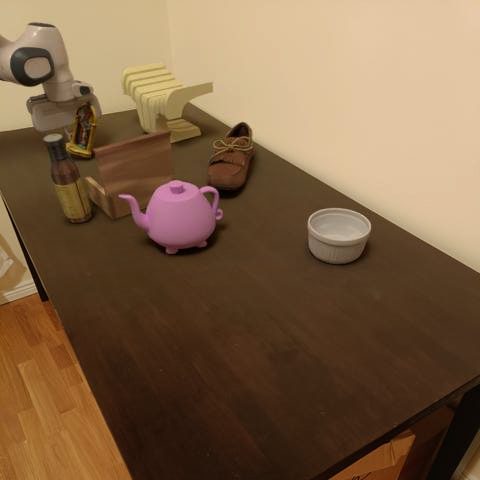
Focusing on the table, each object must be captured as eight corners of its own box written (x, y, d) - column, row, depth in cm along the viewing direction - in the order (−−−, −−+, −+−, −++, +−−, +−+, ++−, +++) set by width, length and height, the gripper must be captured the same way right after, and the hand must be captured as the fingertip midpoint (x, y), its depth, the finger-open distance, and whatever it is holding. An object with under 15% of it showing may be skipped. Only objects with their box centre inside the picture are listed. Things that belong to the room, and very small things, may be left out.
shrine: (97, 146, 137) (85, 95, 127) (109, 154, 133) (97, 102, 122) (63, 156, 132) (47, 104, 121) (74, 165, 127) (59, 111, 117)
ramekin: (294, 240, 97) (297, 213, 93) (345, 229, 101) (350, 202, 96) (322, 274, 89) (327, 246, 84) (377, 260, 92) (384, 232, 87)
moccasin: (231, 204, 109) (230, 158, 101) (188, 196, 113) (183, 150, 104) (271, 157, 130) (272, 115, 122) (233, 151, 134) (232, 110, 125)
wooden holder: (90, 199, 112) (71, 133, 100) (153, 179, 120) (143, 115, 108) (112, 220, 104) (96, 151, 93) (178, 197, 113) (170, 131, 101)
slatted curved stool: (129, 126, 150) (119, 69, 137) (169, 116, 156) (162, 61, 144) (172, 154, 132) (165, 92, 120) (215, 142, 139) (212, 81, 126)
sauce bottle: (82, 209, 108) (59, 128, 95) (98, 217, 106) (76, 135, 92) (60, 219, 105) (32, 137, 91) (75, 228, 102) (49, 144, 88)
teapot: (137, 270, 90) (125, 211, 80) (123, 232, 100) (111, 177, 91) (235, 247, 96) (234, 190, 86) (212, 214, 106) (209, 160, 97)
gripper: (27, 101, 116) (44, 151, 125) (97, 85, 125) (108, 134, 134) (20, 95, 119) (37, 145, 129) (88, 80, 128) (99, 128, 138)
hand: (74, 139), depth 132 cm, fingers closed, pressing on shrine
